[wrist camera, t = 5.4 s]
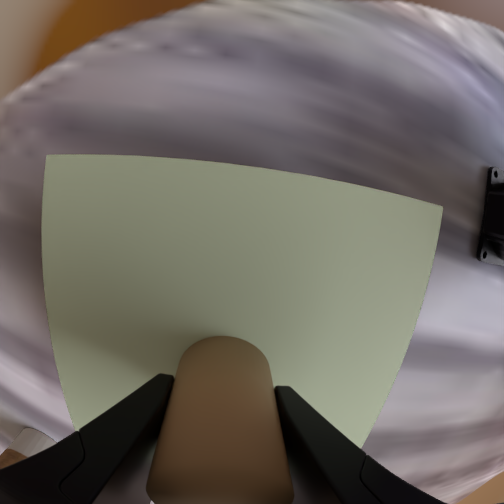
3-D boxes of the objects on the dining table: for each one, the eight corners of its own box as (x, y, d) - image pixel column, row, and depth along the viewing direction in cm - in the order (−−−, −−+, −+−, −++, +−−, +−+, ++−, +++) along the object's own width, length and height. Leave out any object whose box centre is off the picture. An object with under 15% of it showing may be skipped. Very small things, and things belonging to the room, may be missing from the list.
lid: (425, 204, 9) (560, 229, 3) (340, 459, 11) (371, 547, 6) (63, 156, 8) (-72, 146, 2) (89, 435, 10) (49, 520, 5)
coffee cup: (100, 470, 18) (60, 593, 3) (61, 478, 19) (22, 572, 4) (31, 408, 16) (-46, 526, 2) (3, 425, 17) (-56, 514, 2)
